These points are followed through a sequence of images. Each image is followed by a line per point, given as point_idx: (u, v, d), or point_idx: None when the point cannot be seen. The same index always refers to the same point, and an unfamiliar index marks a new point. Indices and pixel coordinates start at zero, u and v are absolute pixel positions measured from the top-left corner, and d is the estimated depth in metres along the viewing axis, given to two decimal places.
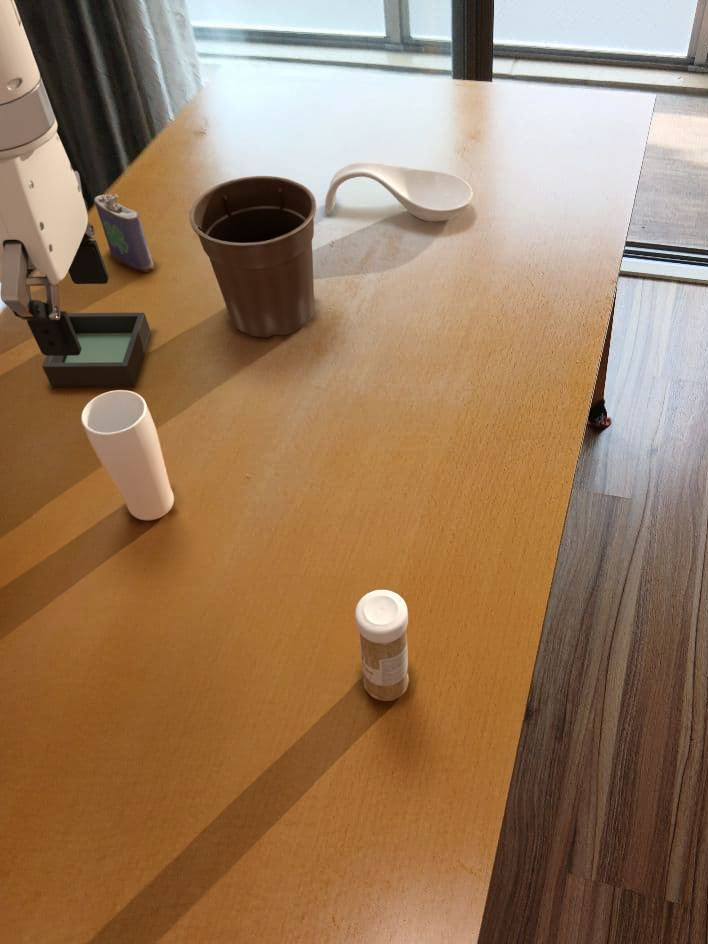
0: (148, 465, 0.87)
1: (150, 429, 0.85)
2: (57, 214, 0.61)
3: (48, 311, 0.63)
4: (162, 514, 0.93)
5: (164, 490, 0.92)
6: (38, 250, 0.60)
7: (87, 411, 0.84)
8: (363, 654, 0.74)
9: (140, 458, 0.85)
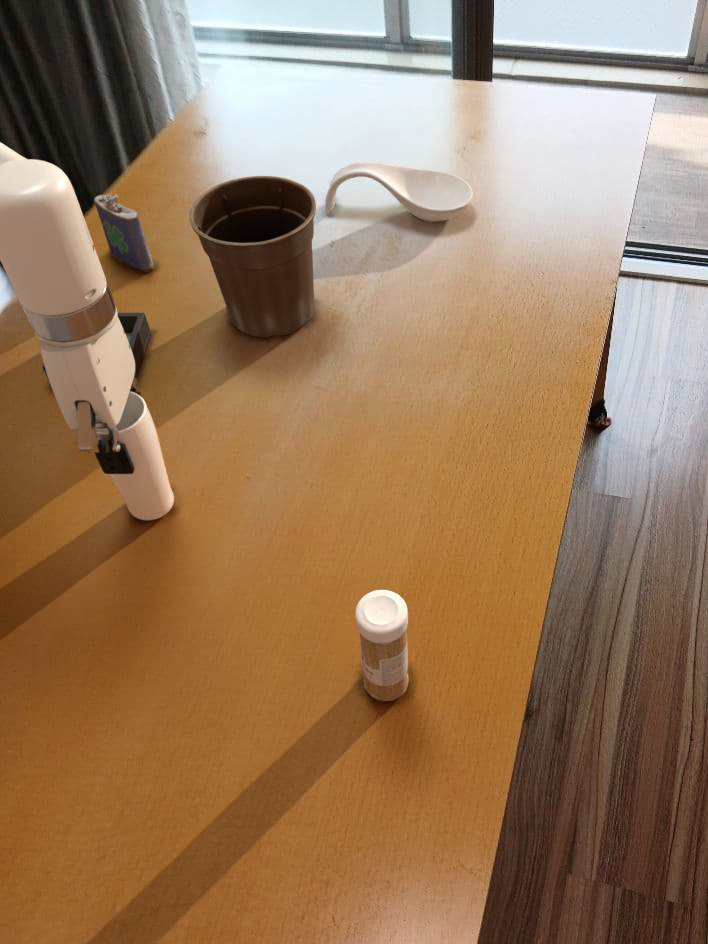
0: (148, 465, 0.87)
1: (150, 429, 0.85)
2: (115, 376, 0.77)
3: (111, 446, 0.80)
4: (162, 514, 0.93)
5: (164, 490, 0.92)
6: (101, 406, 0.76)
7: None
8: (363, 654, 0.74)
9: (140, 458, 0.85)
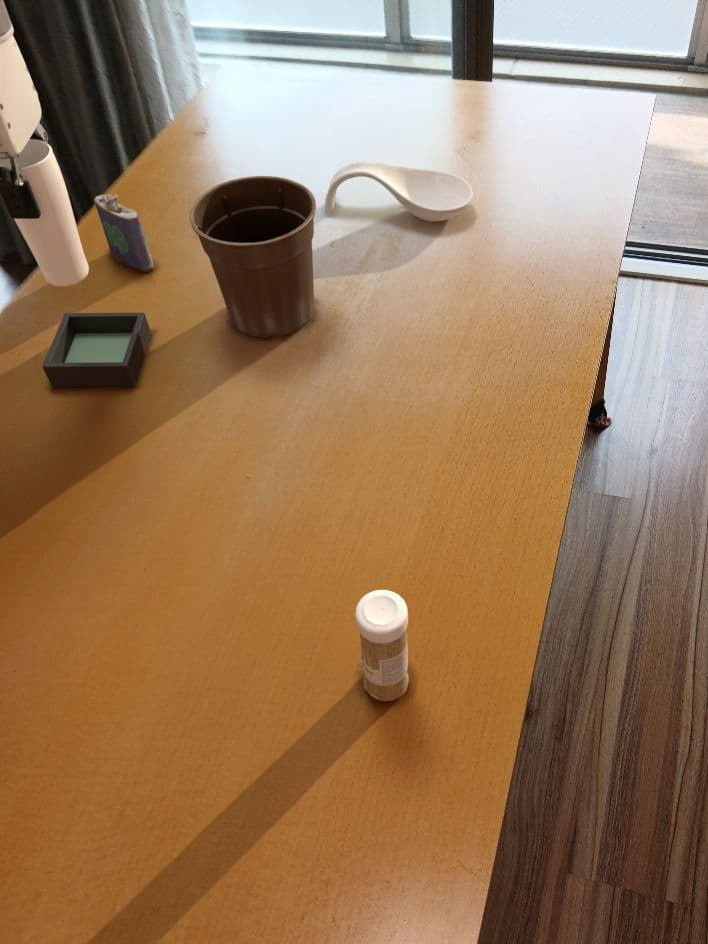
0: (56, 215, 0.90)
1: (56, 175, 0.88)
2: (14, 101, 0.81)
3: (14, 178, 0.83)
4: (76, 280, 0.96)
5: (76, 252, 0.95)
6: None
7: None
8: (363, 654, 0.74)
9: (47, 204, 0.88)
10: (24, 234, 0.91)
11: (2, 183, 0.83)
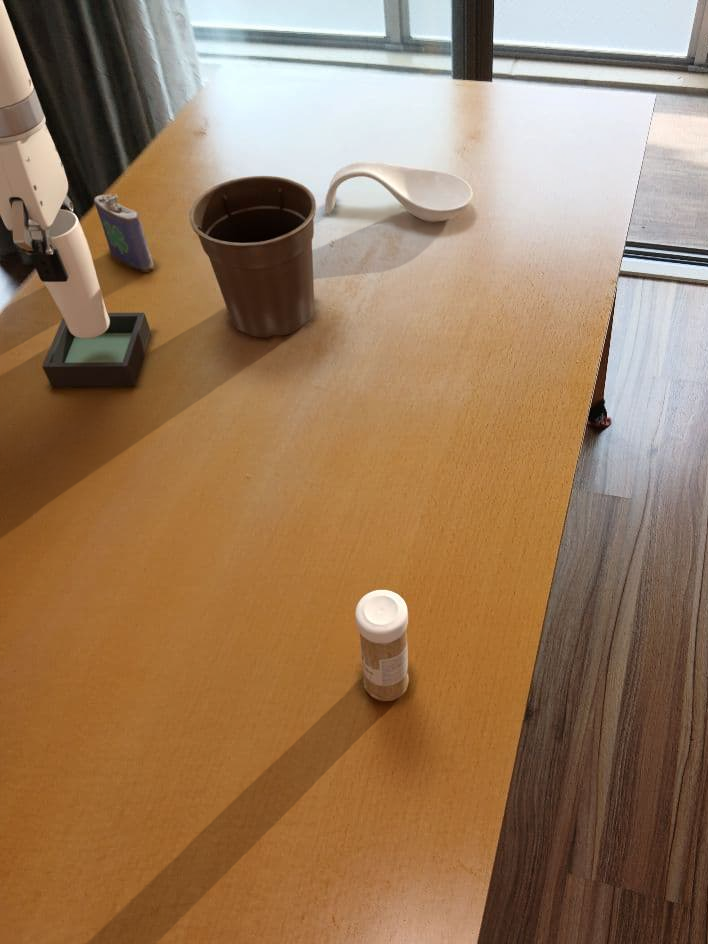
0: (81, 277, 0.99)
1: (82, 242, 0.97)
2: (46, 180, 0.89)
3: (45, 248, 0.92)
4: (98, 333, 1.05)
5: (99, 308, 1.03)
6: (33, 204, 0.88)
7: None
8: (363, 654, 0.74)
9: (73, 268, 0.97)
10: (52, 294, 1.00)
11: (34, 253, 0.92)
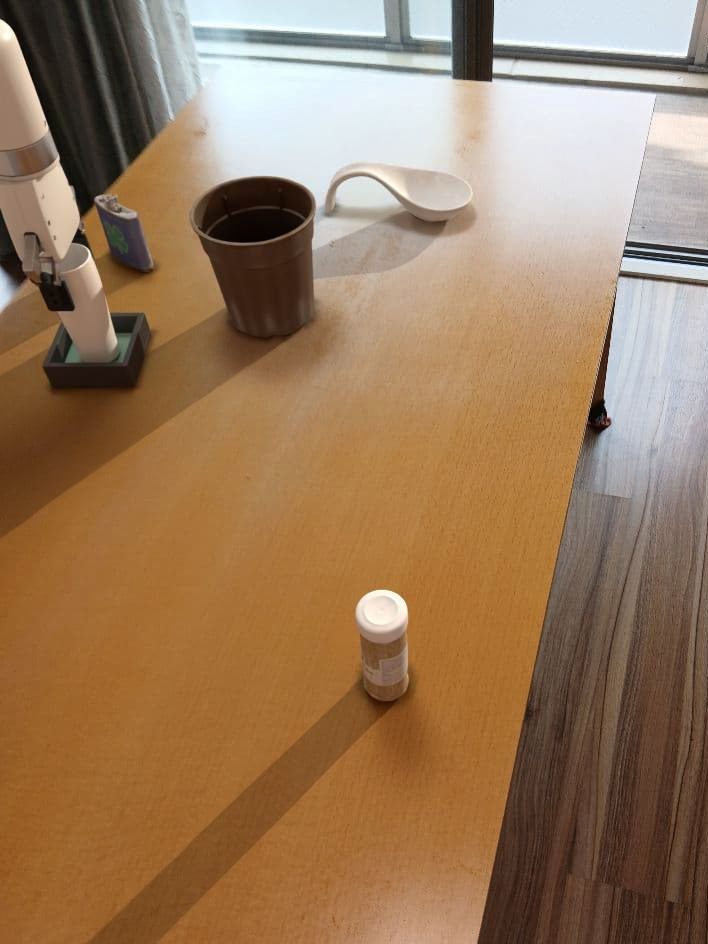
0: (93, 308, 1.02)
1: (94, 275, 1.00)
2: (59, 215, 0.93)
3: (53, 280, 0.94)
4: (109, 360, 1.09)
5: (109, 337, 1.07)
6: (46, 239, 0.91)
7: None
8: (363, 654, 0.74)
9: (86, 300, 1.01)
10: (65, 324, 1.04)
11: (42, 284, 0.94)
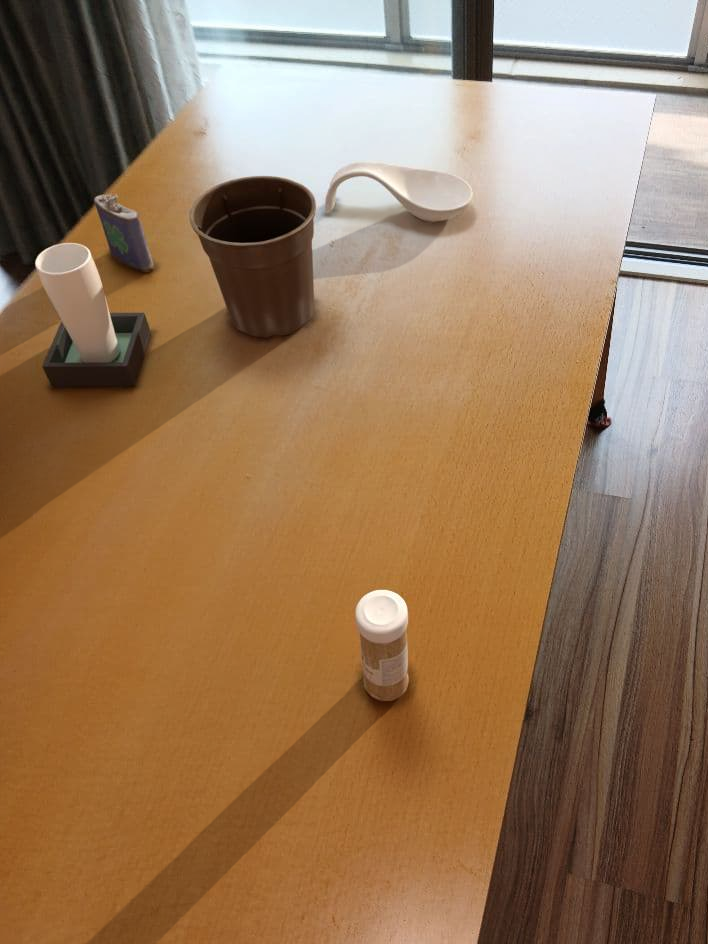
0: (93, 308, 1.02)
1: (94, 275, 1.00)
2: None
3: None
4: (109, 360, 1.09)
5: (109, 337, 1.07)
6: None
7: (41, 259, 1.00)
8: (363, 654, 0.74)
9: (86, 300, 1.01)
10: (65, 324, 1.04)
11: None
